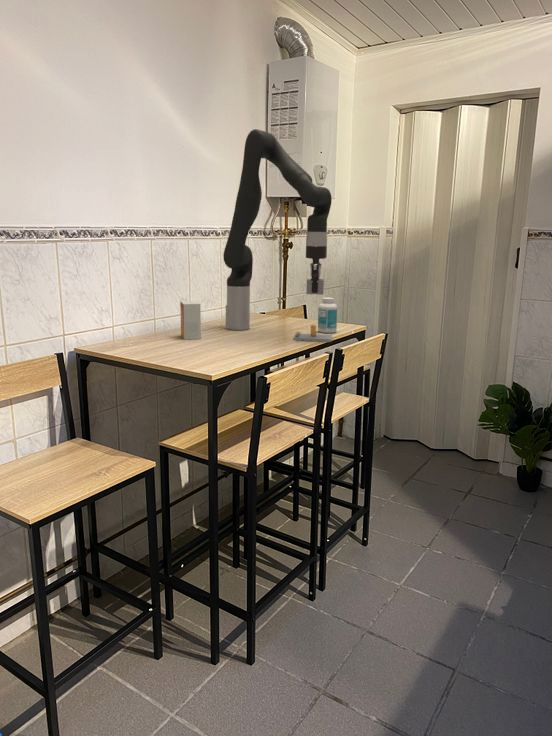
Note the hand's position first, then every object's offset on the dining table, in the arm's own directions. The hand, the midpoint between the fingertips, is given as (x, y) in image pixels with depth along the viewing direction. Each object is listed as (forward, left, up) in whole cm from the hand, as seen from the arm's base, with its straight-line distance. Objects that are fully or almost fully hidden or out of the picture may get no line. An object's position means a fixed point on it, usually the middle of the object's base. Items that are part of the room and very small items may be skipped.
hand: (315, 291), depth 211 cm
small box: (-45, -6, -18) cm, 49 cm away
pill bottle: (+5, +16, -18) cm, 24 cm away
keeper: (0, 0, -18) cm, 18 cm away
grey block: (0, 0, -1) cm, 1 cm away
